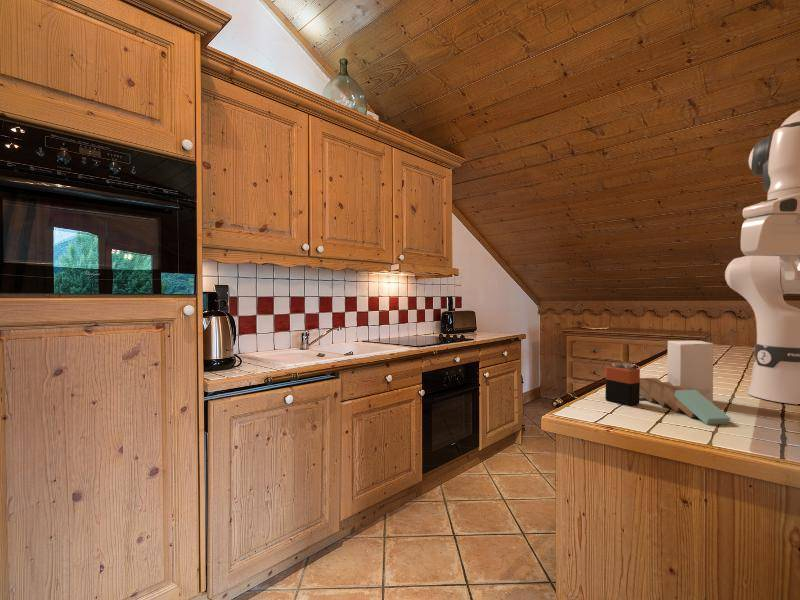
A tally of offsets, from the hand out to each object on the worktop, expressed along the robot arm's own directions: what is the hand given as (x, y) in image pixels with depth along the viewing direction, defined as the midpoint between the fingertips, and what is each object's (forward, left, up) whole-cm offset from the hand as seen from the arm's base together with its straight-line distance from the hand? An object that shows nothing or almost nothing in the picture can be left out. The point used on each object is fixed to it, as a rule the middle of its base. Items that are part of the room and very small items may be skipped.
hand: (796, 280), depth 77 cm
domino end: (+6, -10, -30) cm, 32 cm away
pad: (+6, -33, -31) cm, 46 cm away
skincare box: (-3, -28, -31) cm, 42 cm away
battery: (+16, -28, -31) cm, 45 cm away
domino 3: (+6, -18, -30) cm, 36 cm away
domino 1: (+6, -27, -30) cm, 41 cm away
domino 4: (+6, -14, -30) cm, 34 cm away
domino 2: (+6, -23, -30) cm, 38 cm away
